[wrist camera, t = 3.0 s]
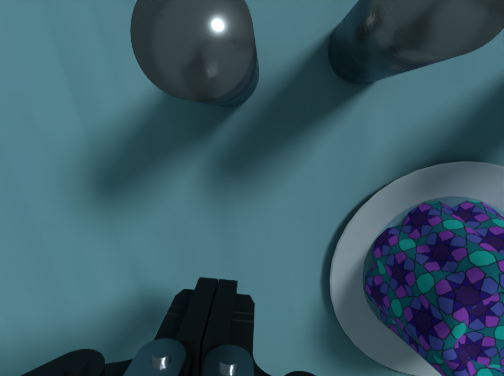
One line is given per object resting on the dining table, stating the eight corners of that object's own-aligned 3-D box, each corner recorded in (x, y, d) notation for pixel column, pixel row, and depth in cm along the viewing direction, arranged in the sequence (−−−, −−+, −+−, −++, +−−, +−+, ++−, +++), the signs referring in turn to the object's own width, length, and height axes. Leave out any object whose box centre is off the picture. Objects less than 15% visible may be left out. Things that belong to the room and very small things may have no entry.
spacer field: (838, 36, 13) (1466, -49, 6) (622, 484, 19) (826, 694, 12) (197, -15, 14) (129, -145, 7) (179, 436, 19) (133, 610, 13)
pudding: (324, 366, 18) (348, 464, 13) (329, 162, 15) (360, 185, 10) (539, 367, 18) (651, 470, 12) (583, 155, 15) (748, 176, 10)
